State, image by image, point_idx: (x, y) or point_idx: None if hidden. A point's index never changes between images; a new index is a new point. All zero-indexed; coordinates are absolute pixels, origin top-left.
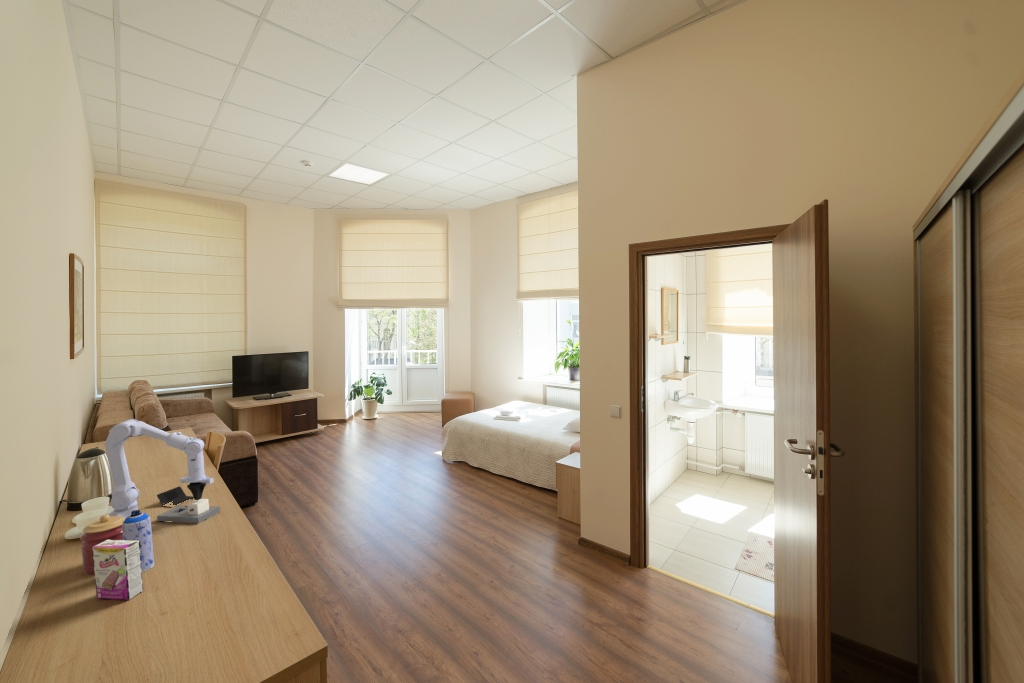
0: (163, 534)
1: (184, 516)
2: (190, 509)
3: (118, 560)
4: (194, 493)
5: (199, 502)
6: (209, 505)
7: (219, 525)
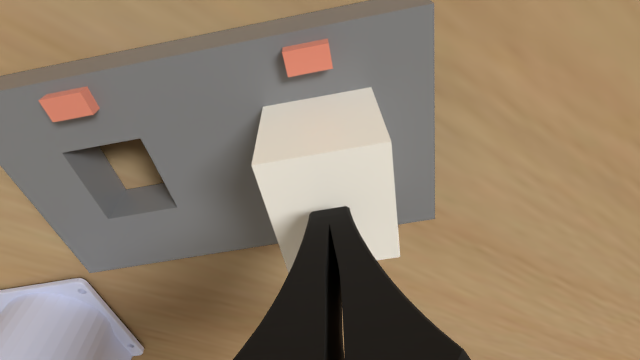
0: None
1: None
2: None
3: None
4: (341, 332)
5: (378, 227)
6: (317, 47)
7: (600, 168)
